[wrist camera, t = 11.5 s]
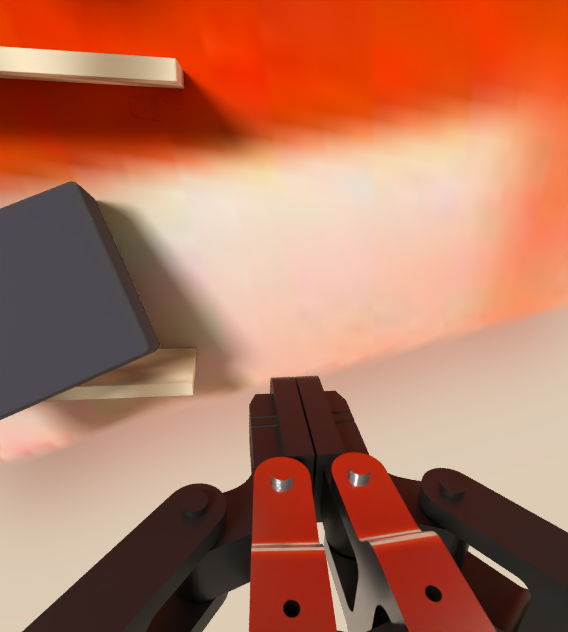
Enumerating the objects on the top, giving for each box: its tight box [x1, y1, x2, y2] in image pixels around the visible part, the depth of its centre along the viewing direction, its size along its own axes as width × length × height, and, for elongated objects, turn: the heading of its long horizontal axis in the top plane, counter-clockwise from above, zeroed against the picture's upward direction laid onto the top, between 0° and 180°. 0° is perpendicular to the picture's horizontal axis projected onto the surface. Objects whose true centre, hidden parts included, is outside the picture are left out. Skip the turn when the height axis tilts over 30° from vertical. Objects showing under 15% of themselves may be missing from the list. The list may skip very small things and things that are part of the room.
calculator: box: [0, 182, 159, 420], centre depth 26 cm, size 11×4×15 cm
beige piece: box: [0, 47, 197, 401], centre depth 26 cm, size 21×20×5 cm
